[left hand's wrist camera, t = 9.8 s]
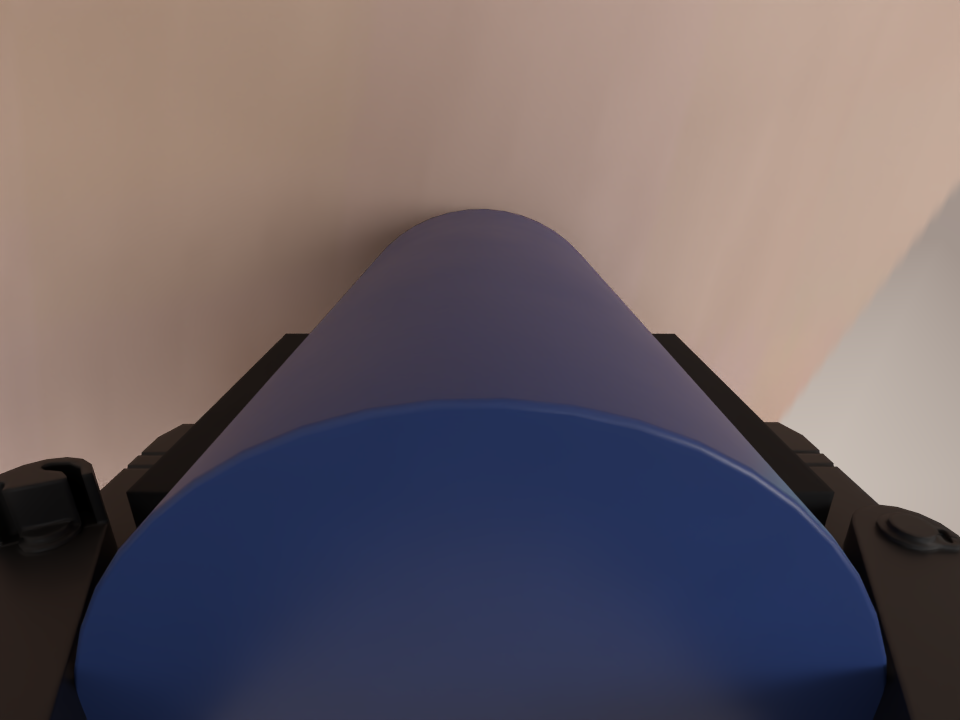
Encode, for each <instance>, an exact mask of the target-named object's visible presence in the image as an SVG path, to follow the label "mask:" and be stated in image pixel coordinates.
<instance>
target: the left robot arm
mask: <svg viewBox="0 0 960 720" xmlns="http://www.w3.org/2000/svg"><path fill="white" fill-rule="evenodd" d="M308 335H309V334H285V335H284V336H283V337H282V338H281V339H280V340H279V341H278V342H277V343H276V344H275V345H274V346H273V347H272V348H271V349H270V350H269V351H268V352H267V353H266V354H265V355H264V356H263V357H262V358H261V359H260V360H259V361H258V362H257V363H256V364H255V365H254V366H253V367H252V368H251V369H250V370H249V371H248V372H247V373H246V374H245V375H244V376H243V377H242V378H241V379H240V380H239V381H238V382H237V383H236V384H235V385H234V386H233V387H232V388H231V389H230V390H229V391H228V392H227V393H226V394H225V395H224V396H223V397H222V398H221V399H220V400H219V401H218V402H217V403H216V404H215V405H214V406H213V407H212V408H211V409H210V410H208V411H207V412H206V413H205V414H204V415H203V416H202V417H201V418H200V419H199V420H198V421H197V422H196V423H195V424H182V425H180V426H178V427H177V428H175V429H173V430H171V431H169V432H167V433H165V434H163V435H162V436H160V437H158V438H157V439H156V440H155V441H154V442H153V443H152V444H150V445H149V446H148V447H147V448H146V449H145V450H144V451H143V452H142V455H141V456H137V457H136V458H135V459H134V460H133V461H132V462H131V463H130V464H129V465H128V468H127V469H123V470H122V471H121V472H120V473H119V474H118V475H117V476H116V477H114V478H113V479H112V480H111V481H110V482H109V483H108V484H107V485H106V486H105V487H104V488H102V489H101V490H100V489H99V486H98V483H97V480H96V477H95V473H94V470H93V467H92V464H90V463H89V462H87V461H85V460H84V459H79V458H70V457H64V458H55V459H46V460H42V461H38V462H34V463H30V464H26V465H23V466H20V467H17V468H15V469H12V470H10V471H7V472H5V473H2V474H0V720H87V718H86V715H85V713H84V710H83V708H82V705H81V703H80V700H79V697H78V694H77V691H76V688H75V684H74V666H75V659H76V653H77V646H78V639H79V633H80V629H81V625H82V623H83V620H84V617H85V614H86V612H87V609H88V606H89V603H90V601H91V598H92V595H93V593H94V590H95V587H96V586H97V584H98V582H99V581H100V579H101V577H102V576H103V574H104V572H105V571H106V569H107V567H108V566H109V564H110V562H111V561H112V559H113V558H114V556H115V554H116V553H117V551H118V549H119V548H120V547H121V546H122V545H123V544H124V542H125V541H126V540H127V539H128V538H129V537H130V536H131V535H132V533H133V532H134V531H135V530H136V529H137V528H138V527H139V526H140V524H141V523H142V522H143V521H144V520H145V519H146V518H147V516H148V515H149V514H150V513H151V512H152V511H153V510H154V509H155V507H156V506H157V505H158V504H159V503H160V502H161V501H162V500H163V498H164V497H165V496H166V495H167V494H168V493H169V492H170V491H171V489H172V488H173V487H174V486H175V485H176V484H177V483H178V482H179V480H180V479H181V478H182V477H183V476H184V475H185V474H186V473H187V471H188V470H189V469H190V468H191V467H192V466H193V465H194V464H195V462H196V461H197V460H198V459H199V458H200V457H201V456H202V455H203V453H204V452H205V451H206V450H207V449H208V448H209V447H210V446H211V444H212V443H213V442H214V441H215V440H216V439H217V438H218V437H219V435H220V434H221V433H222V432H223V431H224V430H225V429H226V428H227V426H228V425H229V424H230V423H231V422H232V421H233V420H234V419H235V417H236V416H237V415H238V414H239V413H240V412H241V411H242V410H243V408H244V407H245V406H246V405H247V404H248V403H249V402H250V401H251V399H252V398H253V397H254V396H255V395H256V394H257V393H258V392H259V390H260V389H261V388H262V387H263V386H264V385H265V384H266V383H267V381H268V380H269V379H270V378H271V377H272V376H273V375H274V374H275V372H276V371H277V370H278V369H279V368H280V367H281V366H282V365H283V363H284V362H285V361H286V360H287V359H288V358H289V357H290V356H291V354H292V353H293V352H294V351H295V350H296V349H297V348H298V347H299V345H300V344H301V343H302V342H303V341H304V340H305V339H306V337H307V336H308ZM652 335H653V336H654V337H655V338H656V339H657V340H658V342H659V343H660V344H661V345H662V346H663V347H664V348H665V349H666V350H667V352H668V353H669V354H670V355H671V356H672V357H673V358H674V359H675V361H676V362H677V363H678V364H679V365H680V366H681V367H682V368H683V369H684V371H685V372H686V373H687V374H688V375H689V376H690V377H691V378H692V380H693V381H694V382H695V383H696V384H697V385H698V386H699V387H700V388H701V390H702V391H703V392H704V393H705V394H706V395H707V396H708V397H709V399H710V400H711V401H712V402H713V403H714V404H715V405H716V406H717V407H718V409H719V410H720V411H721V412H722V413H723V414H724V415H725V416H726V418H727V419H728V420H729V421H730V422H731V423H732V424H733V425H734V426H735V428H736V429H737V430H738V431H739V432H740V433H741V434H742V435H743V437H744V438H745V439H746V440H747V441H748V442H749V443H750V444H751V445H752V447H753V448H754V449H755V450H756V451H757V452H758V453H759V454H760V456H761V457H762V458H763V459H764V460H765V461H766V462H767V463H768V464H769V466H770V467H771V468H772V469H773V470H774V471H775V472H776V473H777V475H778V476H779V477H780V478H781V479H782V480H783V481H784V482H785V484H786V485H787V486H788V487H789V488H790V489H791V490H792V491H793V492H794V494H795V495H796V496H797V497H798V498H799V499H800V500H801V501H802V503H803V504H804V505H805V506H806V507H807V508H808V509H809V510H810V511H811V513H812V514H813V515H814V516H815V517H816V518H817V519H818V520H819V522H820V523H821V524H822V525H823V526H824V527H825V528H826V529H827V530H828V532H829V533H830V534H831V535H832V536H833V537H834V539H835V540H836V542H837V543H838V545H839V546H840V547H841V549H842V550H843V552H844V553H845V555H846V556H847V558H848V559H849V560H850V562H851V563H852V565H853V566H854V568H855V569H856V571H857V572H858V573H859V575H860V577H861V580H862V582H863V584H864V586H865V589H866V591H867V593H868V595H869V598H870V600H871V602H872V604H873V607H874V609H875V611H876V614H877V617H878V621H879V626H880V630H881V635H882V640H883V644H884V649H885V653H886V660H887V682H886V686H885V689H884V692H883V695H882V698H881V700H880V703H879V705H878V708H877V710H876V713H875V715H874V718H873V720H960V537H959V536H958V535H957V534H955V533H954V532H953V531H951V530H950V529H948V528H947V527H945V526H944V525H942V524H941V523H939V522H937V521H934V520H932V519H930V518H928V517H926V516H924V515H921V514H919V513H916V512H913V511H909V510H906V509H902V508H899V507H894V506H885V505H879V504H878V503H876V502H875V501H874V500H873V499H872V498H871V497H870V496H869V495H868V494H867V493H866V492H864V491H863V490H862V489H861V488H860V487H859V486H858V485H857V484H856V483H855V482H853V481H852V480H851V479H850V478H849V477H848V476H847V475H846V474H845V473H843V472H842V471H841V470H840V469H839V468H838V467H834V465H833V462H831V461H830V460H829V459H828V458H827V457H826V456H825V455H824V454H820V452H819V450H818V449H817V448H816V447H815V446H814V445H813V444H812V443H811V442H810V441H808V440H807V439H806V438H805V437H804V436H803V435H801V434H799V433H797V432H796V431H794V430H792V429H790V428H788V427H786V426H784V425H782V424H780V423H778V422H763V421H762V420H761V419H760V418H759V417H758V416H757V415H756V414H755V413H754V412H753V411H752V410H751V409H750V408H749V407H748V406H747V405H746V404H745V403H744V402H743V401H742V400H741V399H740V398H739V397H738V396H737V395H736V394H735V393H734V392H733V391H732V390H731V389H730V388H729V387H728V386H727V385H726V384H725V383H724V382H723V381H722V380H721V379H720V378H719V377H718V376H717V375H716V374H715V373H714V372H713V371H712V370H711V369H710V368H709V367H708V366H707V365H706V364H705V363H704V362H703V361H702V360H701V359H700V358H699V357H698V356H697V355H695V354H694V353H693V352H692V351H691V350H690V349H689V348H688V347H687V346H686V345H685V344H684V343H683V342H682V341H681V340H680V339H679V338H678V337H677V336H676V335H675V334H652Z"/></svg>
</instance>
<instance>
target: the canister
mask: <svg viewBox="0 0 960 720" xmlns="http://www.w3.org/2000/svg"><path fill="white" fill-rule="evenodd" d="M886 682H887V660H886V653H885V649H884V644H883V640H882V635H881V630H880V626H879V621H878V617H877V614H876V611H875V609H874V607H873V604H872V602H871V600H870V598H869V595H868V593H867V591H866V589H865V586H864V584H863V582H862V580H861V577H860V575H859V573H858V572H857V571H856V569H855V568H854V566H853V565H852V563H851V562H850V560H849V559H848V558H847V556H846V555H845V553H844V552H843V550H842V549H841V547H840V546H839V545H838V543H837V542H836V540H835V539H834V537H833V536H832V535H831V534H830V533H829V532H828V530H827V529H826V528H825V527H824V526H823V525H822V524H821V523H820V522H819V520H818V519H817V518H816V517H815V516H814V515H813V514H812V513H811V511H810V510H809V509H808V508H807V507H806V506H805V505H804V504H803V503H802V501H801V500H800V499H799V498H798V497H797V496H796V495H795V494H794V492H793V491H792V490H791V489H790V488H789V487H788V486H787V485H786V484H785V482H784V481H783V480H782V479H781V478H780V477H779V476H778V475H777V473H776V472H775V471H774V470H773V469H772V468H771V467H770V466H769V464H768V463H767V462H766V461H765V460H764V459H763V458H762V457H761V456H760V454H759V453H758V452H757V451H756V450H755V449H754V448H753V447H752V445H751V444H750V443H749V442H748V441H747V440H746V439H745V438H744V437H743V435H742V434H741V433H740V432H739V431H738V430H737V429H736V428H735V426H734V425H733V424H732V423H731V422H730V421H729V420H728V419H727V418H726V416H725V415H724V414H723V413H722V412H721V411H720V410H719V409H718V407H717V406H716V405H715V404H714V403H713V402H712V401H711V400H710V399H709V397H708V396H707V395H706V394H705V393H704V392H703V391H702V390H701V388H700V387H699V386H698V385H697V384H696V383H695V382H694V381H693V380H692V378H691V377H690V376H689V375H688V374H687V373H686V372H685V371H684V369H683V368H682V367H681V366H680V365H679V364H678V363H677V362H676V361H675V359H674V358H673V357H672V356H671V355H670V354H669V353H668V352H667V350H666V349H665V348H664V347H663V346H662V345H661V344H660V343H659V342H658V340H657V339H656V338H655V337H654V336H653V335H652V334H651V333H650V331H649V330H648V329H647V328H646V327H645V326H644V325H643V324H642V323H641V321H640V320H639V319H638V318H637V317H636V316H635V315H634V314H633V312H632V311H631V310H630V309H629V308H628V307H627V306H626V305H625V304H624V302H623V301H622V300H621V299H620V298H619V297H618V296H617V295H616V293H615V292H614V291H613V290H612V289H611V288H610V287H609V286H608V285H607V283H606V282H605V281H604V280H603V279H602V278H601V277H600V276H599V274H598V273H597V272H596V271H595V270H594V269H593V268H592V267H591V266H590V264H589V263H588V262H587V261H586V260H585V259H584V258H583V257H582V255H581V254H580V253H579V252H578V251H577V250H576V249H575V248H574V247H573V246H572V245H571V244H570V243H569V242H568V241H566V240H565V239H564V238H563V237H561V236H560V235H559V234H557V233H556V232H555V231H553V230H551V229H550V228H548V227H546V226H544V225H543V224H541V223H539V222H537V221H534V220H532V219H529V218H527V217H524V216H521V215H517V214H513V213H509V212H505V211H498V210H489V209H475V210H463V211H456V212H450V213H447V214H443V215H440V216H437V217H433V218H431V219H429V220H427V221H424V222H422V223H420V224H418V225H416V226H414V227H413V228H411V229H409V230H408V231H406V232H405V233H403V234H402V235H400V236H399V237H398V238H397V239H396V240H394V241H393V242H392V243H391V244H390V245H388V246H387V247H386V249H385V250H384V251H383V252H382V253H381V254H380V255H379V256H378V258H377V259H376V260H375V261H374V262H373V263H372V264H371V265H370V267H369V268H368V269H367V270H366V271H365V272H364V273H363V274H362V276H361V277H360V278H359V279H358V280H357V281H356V282H355V283H354V285H353V286H352V287H351V288H350V289H349V290H348V291H347V292H346V294H345V295H344V296H343V297H342V298H341V299H340V300H339V301H338V303H337V304H336V305H335V306H334V307H333V308H332V309H331V310H330V312H329V313H328V314H327V315H326V316H325V317H324V318H323V319H322V321H321V322H320V323H319V324H318V325H317V326H316V327H315V328H314V330H313V331H312V332H311V333H310V334H309V335H308V336H307V337H306V339H305V340H304V341H303V342H302V343H301V344H300V345H299V347H298V348H297V349H296V350H295V351H294V352H293V353H292V354H291V356H290V357H289V358H288V359H287V360H286V361H285V362H284V363H283V365H282V366H281V367H280V368H279V369H278V370H277V371H276V372H275V374H274V375H273V376H272V377H271V378H270V379H269V380H268V381H267V383H266V384H265V385H264V386H263V387H262V388H261V389H260V390H259V392H258V393H257V394H256V395H255V396H254V397H253V398H252V399H251V401H250V402H249V403H248V404H247V405H246V406H245V407H244V408H243V410H242V411H241V412H240V413H239V414H238V415H237V416H236V417H235V419H234V420H233V421H232V422H231V423H230V424H229V425H228V426H227V428H226V429H225V430H224V431H223V432H222V433H221V434H220V435H219V437H218V438H217V439H216V440H215V441H214V442H213V443H212V444H211V446H210V447H209V448H208V449H207V450H206V451H205V452H204V453H203V455H202V456H201V457H200V458H199V459H198V460H197V461H196V462H195V464H194V465H193V466H192V467H191V468H190V469H189V470H188V471H187V473H186V474H185V475H184V476H183V477H182V478H181V479H180V480H179V482H178V483H177V484H176V485H175V486H174V487H173V488H172V489H171V491H170V492H169V493H168V494H167V495H166V496H165V497H164V498H163V500H162V501H161V502H160V503H159V504H158V505H157V506H156V507H155V509H154V510H153V511H152V512H151V513H150V514H149V515H148V516H147V518H146V519H145V520H144V521H143V522H142V523H141V524H140V526H139V527H138V528H137V529H136V530H135V531H134V532H133V533H132V535H131V536H130V537H129V538H128V539H127V540H126V541H125V542H124V544H123V545H122V546H121V547H120V548H119V549H118V551H117V553H116V554H115V556H114V558H113V559H112V561H111V562H110V564H109V566H108V567H107V569H106V571H105V572H104V574H103V576H102V577H101V579H100V581H99V582H98V584H97V586H96V587H95V590H94V593H93V595H92V598H91V601H90V603H89V606H88V609H87V612H86V614H85V617H84V620H83V623H82V625H81V629H80V633H79V639H78V646H77V653H76V659H75V666H74V684H75V688H76V691H77V694H78V697H79V700H80V703H81V705H82V708H83V710H84V713H85V715H86V718H87V720H873V718H874V715H875V713H876V710H877V708H878V705H879V703H880V700H881V698H882V695H883V692H884V689H885V686H886Z"/></svg>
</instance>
